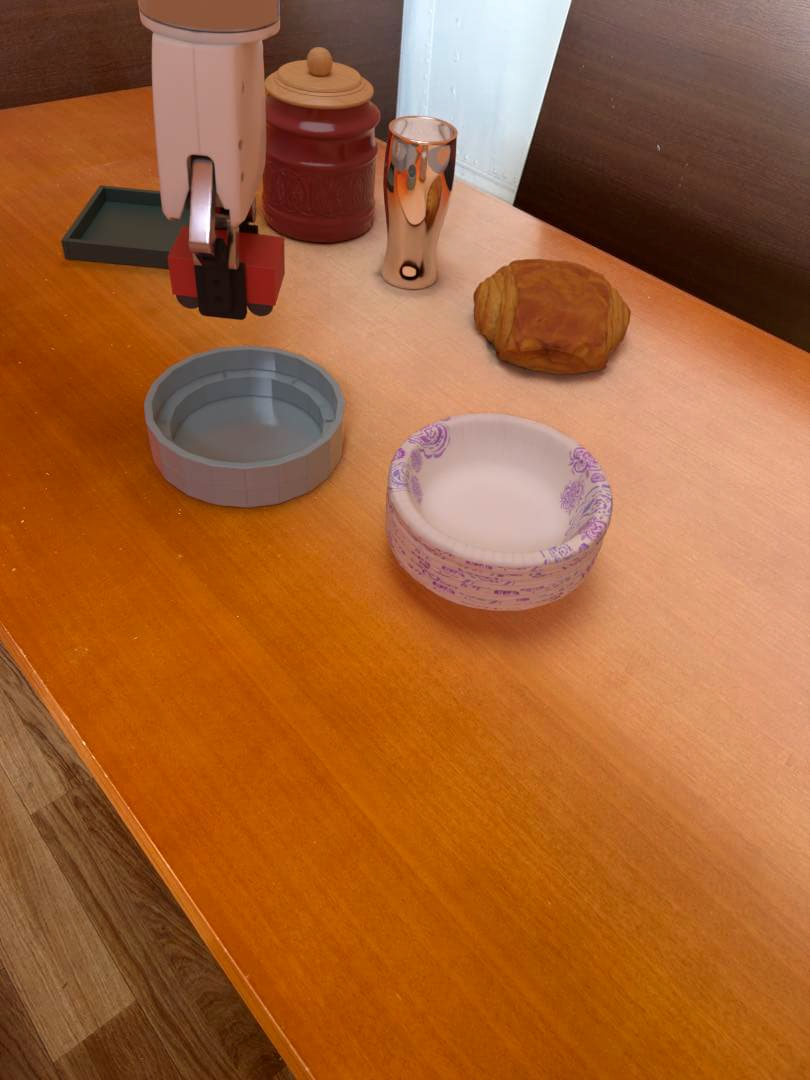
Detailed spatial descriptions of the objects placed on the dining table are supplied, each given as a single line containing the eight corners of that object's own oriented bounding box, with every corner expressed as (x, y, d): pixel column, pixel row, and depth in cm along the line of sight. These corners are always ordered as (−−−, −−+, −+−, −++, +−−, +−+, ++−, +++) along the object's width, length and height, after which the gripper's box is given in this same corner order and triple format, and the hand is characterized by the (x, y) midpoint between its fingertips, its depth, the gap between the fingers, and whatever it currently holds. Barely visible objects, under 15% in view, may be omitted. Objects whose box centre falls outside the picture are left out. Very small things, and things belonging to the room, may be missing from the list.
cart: (173, 308, 54) (167, 256, 52) (188, 275, 57) (182, 225, 55) (275, 319, 55) (274, 268, 52) (285, 286, 58) (284, 236, 55)
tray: (65, 258, 82) (60, 240, 80) (103, 202, 91) (99, 184, 89) (212, 273, 82) (210, 255, 81) (236, 215, 91) (234, 198, 90)
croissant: (480, 308, 86) (481, 236, 81) (627, 316, 83) (639, 242, 78) (459, 381, 76) (459, 304, 71) (626, 393, 73) (639, 314, 68)
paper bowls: (385, 478, 63) (393, 398, 58) (573, 494, 64) (599, 416, 58) (375, 632, 53) (382, 554, 47) (598, 649, 54) (633, 574, 48)
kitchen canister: (240, 210, 92) (228, 37, 79) (327, 184, 99) (329, 21, 86) (308, 256, 86) (307, 78, 73) (396, 226, 93) (410, 58, 80)
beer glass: (367, 263, 86) (375, 116, 76) (425, 255, 89) (441, 112, 78) (391, 296, 82) (404, 146, 71) (451, 287, 85) (472, 140, 74)
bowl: (130, 502, 59) (119, 457, 56) (178, 381, 70) (171, 337, 66) (333, 520, 60) (334, 476, 57) (350, 397, 70) (352, 354, 67)
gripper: (176, -54, 48) (203, 233, 62) (89, 29, 37) (145, 359, 50) (299, -38, 48) (299, 244, 62) (251, 50, 37) (264, 372, 51)
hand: (230, 293), depth 56 cm, fingers closed on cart, 4 cm apart
